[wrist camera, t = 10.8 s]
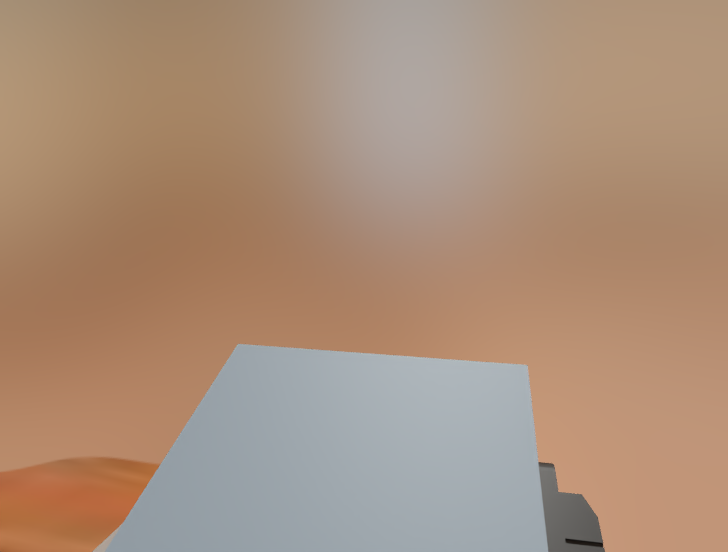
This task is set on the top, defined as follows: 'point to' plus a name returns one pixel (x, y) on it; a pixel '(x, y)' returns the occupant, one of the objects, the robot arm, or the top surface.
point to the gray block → (348, 459)
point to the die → (106, 542)
